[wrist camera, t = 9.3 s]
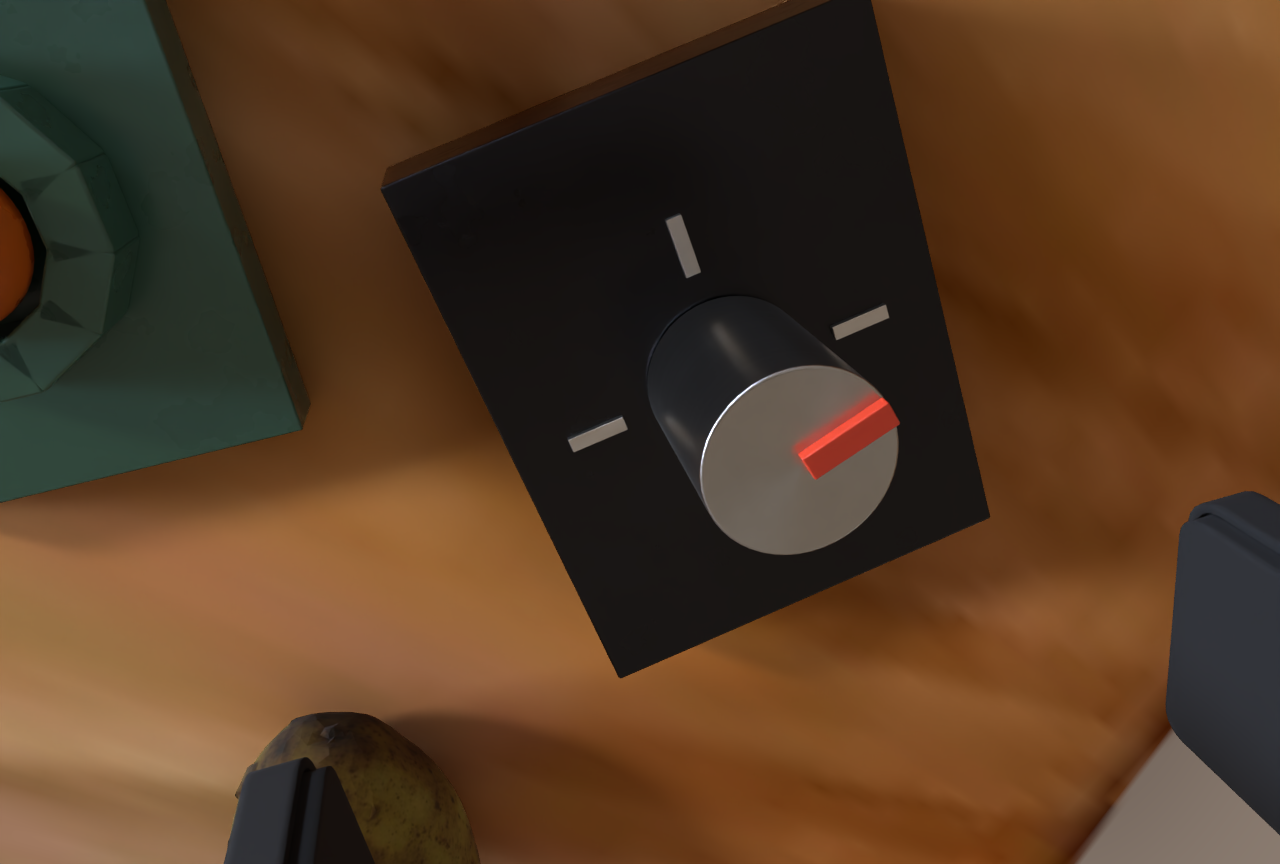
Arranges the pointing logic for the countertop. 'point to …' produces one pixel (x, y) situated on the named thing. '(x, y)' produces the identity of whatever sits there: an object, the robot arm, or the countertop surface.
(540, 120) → the hob console
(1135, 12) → the countertop surface
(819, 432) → the knob
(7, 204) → the button
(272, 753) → the potato
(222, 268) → the block
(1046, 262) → the countertop surface
